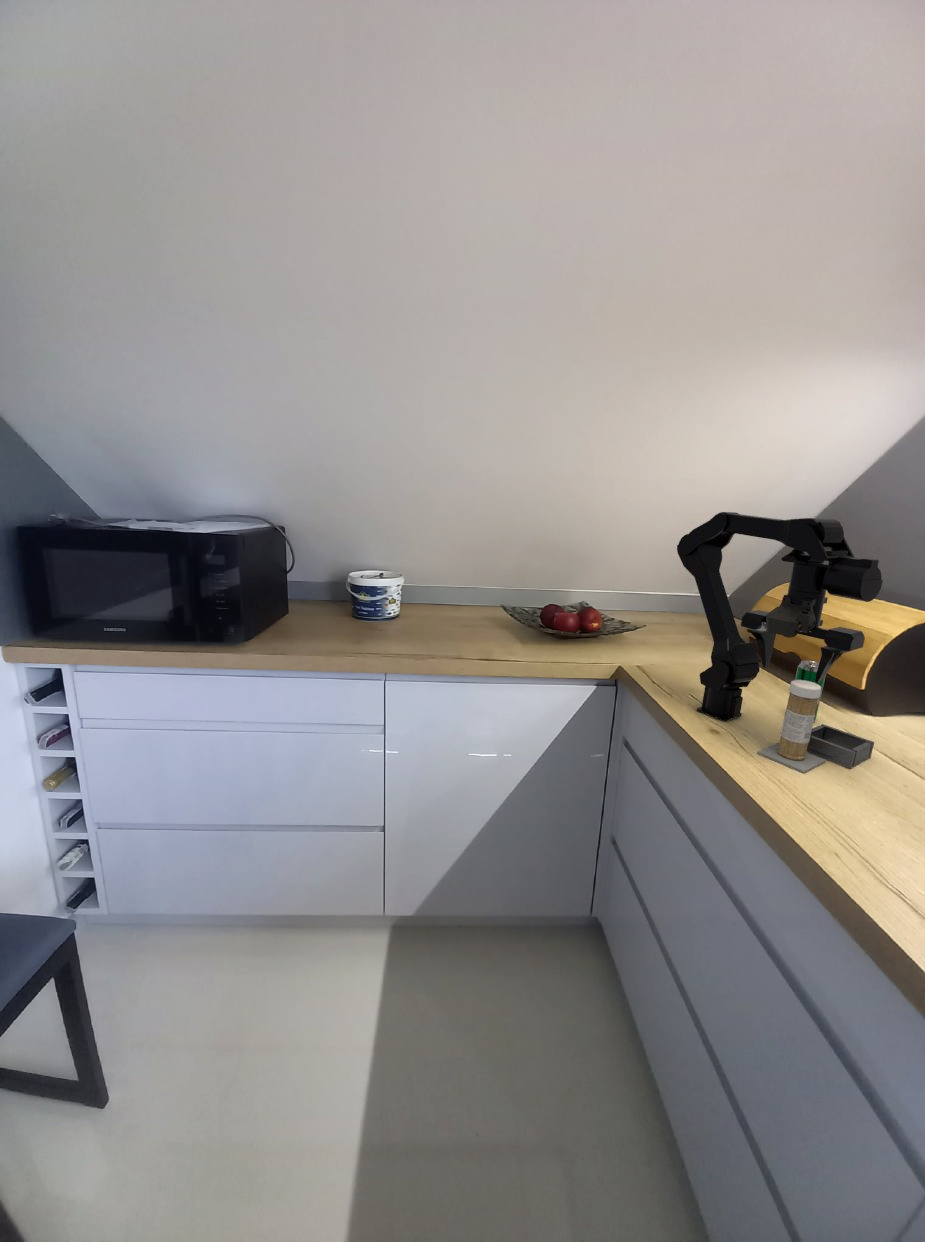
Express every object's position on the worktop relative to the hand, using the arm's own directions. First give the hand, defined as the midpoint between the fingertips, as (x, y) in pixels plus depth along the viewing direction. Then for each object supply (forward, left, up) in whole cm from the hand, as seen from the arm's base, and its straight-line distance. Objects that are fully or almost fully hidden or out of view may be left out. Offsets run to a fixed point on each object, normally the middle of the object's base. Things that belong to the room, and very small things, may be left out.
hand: (790, 674), depth 103 cm
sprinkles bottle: (+5, -5, -13) cm, 15 cm away
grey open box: (+8, +5, -13) cm, 16 cm away
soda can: (-3, +16, -13) cm, 21 cm away
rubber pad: (+5, -5, -13) cm, 15 cm away
